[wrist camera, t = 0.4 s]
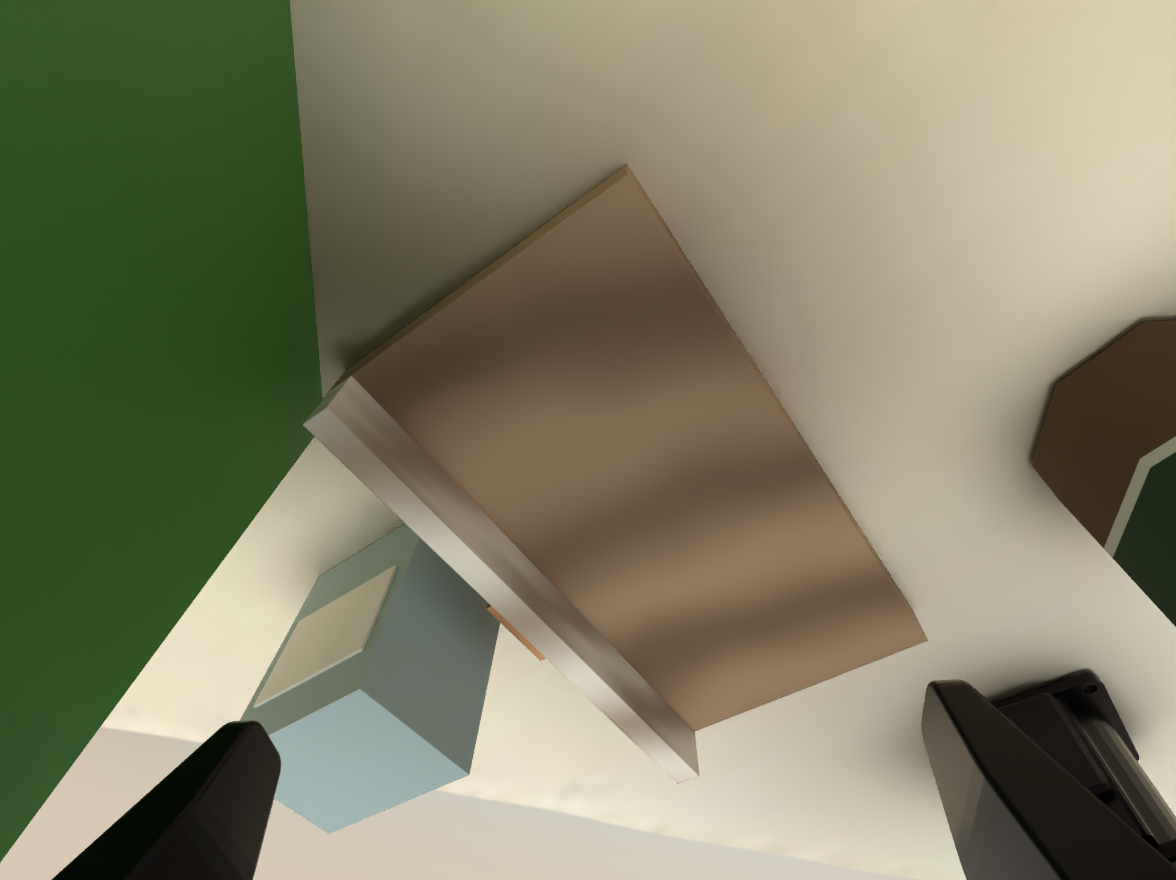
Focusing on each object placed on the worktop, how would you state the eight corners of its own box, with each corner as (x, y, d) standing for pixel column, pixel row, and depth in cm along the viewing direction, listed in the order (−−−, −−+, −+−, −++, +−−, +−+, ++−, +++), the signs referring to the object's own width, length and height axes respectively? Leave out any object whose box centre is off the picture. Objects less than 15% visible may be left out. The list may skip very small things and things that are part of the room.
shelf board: (913, 611, 27) (949, 684, 24) (664, 712, 30) (669, 787, 27) (626, 163, 19) (627, 190, 16) (336, 377, 22) (292, 431, 19)
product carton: (507, 584, 27) (468, 774, 20) (397, 642, 29) (328, 833, 22) (429, 506, 25) (356, 686, 18) (317, 573, 27) (214, 759, 20)
